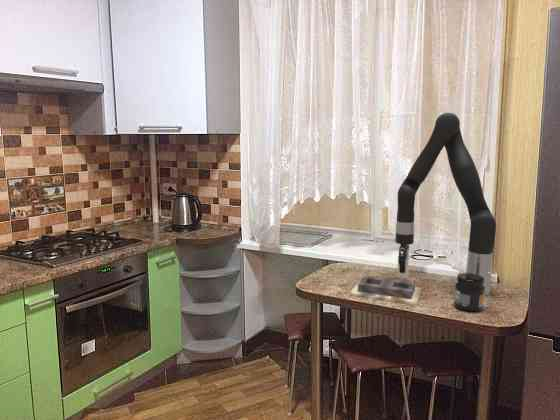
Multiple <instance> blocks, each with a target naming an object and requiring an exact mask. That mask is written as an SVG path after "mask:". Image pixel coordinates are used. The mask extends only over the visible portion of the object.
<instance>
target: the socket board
mask: <svg viewBox="0 0 560 420" xmlns="http://www.w3.org/2000/svg"><path fill="white" fill-rule="evenodd" d="M357 281H358V282H356V283H355V285H354V286H353V288H352V289H351V291H350V292H349V296H352V297H359V298H364V299H372V300H378V301H385V302H390V303H391V302H392V303H400V304H405V305H413V306H418V304H419V300H420V297H421V295H422V290H423V288H422V287H419V286H416V281H415V282H414V281H407V280H400V279H393V278H386V277H378V276H369V275H364V276H363V277H362V278H361V279H358V280H357Z"/></svg>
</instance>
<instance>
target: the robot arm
mask: <svg viewBox="0 0 560 420" xmlns="http://www.w3.org/2000/svg"><path fill="white" fill-rule="evenodd" d="M460 122H461V121H460V118H459V117H458V116H457V115H456V113H452V112H444V113H442V114H440V115H439V116H438V117H437V118H436V120H435V122H434V128H433V131H432V133H431V135H430V138H429V139H428V141H427V143H426V144H425V147H424V148H423V149H422V151H421V152H420V154H418V157H417V158H416V159H415V162H414V163H413V165H412V166H411V168H410V169H409V172H408V174H407V176H406V177H405V178H404V180H403V181H402V183H401V185H400V187H399V188H398V190H397V211H396V224H395V237H394V239H395V240H394V241H395V244H398V245H399V247H398V256H399V264H400V273H405V264H406V259H407V255H409V254H410V253H409V252H410V245H413V244H414V240H415V204H416V203H415V201H416V194H417V192H418V190H419V188H420V186H421V184H422V183H424V181H425V180H426V178H427V177H428V175H429V174H430V172H431V170H432V168H433V167H434V165H435V163H436V161H437V159H438V158H439V155H440V154H441V151H442V150H443V149H444V148H445V151H446V152H445V153H446V155H447V161H448V165H449V168H450V172H451V175H452V177H453V180H454V183H455V185H456V188H457V190H458V192H459V193H460V196H461V197H462V199H463V200H464V203H465V205H466V208H467V211H468V215H469V221H470V229H469V239H468V240H469V241H468V246H467V247H468V250H467V261H466V269H465V270H466V272H465V273H472V274H477V275H480V276H482V277H484V279H485V281H484V286H485V293H484V296H488V297H489V296H490V288H491V279H492V266H493V265H492V263H493V253H494V248H495V239H496V231H497V222H496V219H495V217H494V215H493V213H492V212H491V210H490V208H489V206H488V204H487V201H486V199H485V197H484V196H485V195H484V193H483V192H484V191H483V186H482V181H481V179H480V175H479V172H478V170H477V167H476V164H475V162H474V160H473V158H472V155H471V154H470V151H469V150H468V149H467V147H466V144H465V141H464V138H463V135H462V131H461V126H460V125H461V123H460ZM405 256H406V257H405ZM409 256H410V255H409ZM401 260H404V261H401Z"/></svg>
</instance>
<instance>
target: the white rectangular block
mask: <svg viewBox="0 0 560 420" xmlns="http://www.w3.org/2000/svg"><path fill="white" fill-rule="evenodd" d="M405 257H406V256H405ZM401 261H404V260H401ZM409 261H410V255H407V259H406V264H405V273H400V264H399V255H398V257H397V275H396V277H397V278H404V279H408V278H409V277H408V276H409V269H410V268H409V264H410V263H409Z"/></svg>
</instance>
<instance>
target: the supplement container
mask: <svg viewBox="0 0 560 420" xmlns="http://www.w3.org/2000/svg"><path fill="white" fill-rule="evenodd" d="M484 281H485V279H484V277H482V276H480V275H477V274H472V273H466V272H462V273H458V274H457V276H456V282H455V284H454V295H453V297H454V298H453V305H454V307H456V308H457V309H458V308H459V310H461V309H462V310H461V311H464V310H466V311H465V312H469V311H477V312H480V311H483V308H484V300H485V295H484V293H485V286H484Z"/></svg>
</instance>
